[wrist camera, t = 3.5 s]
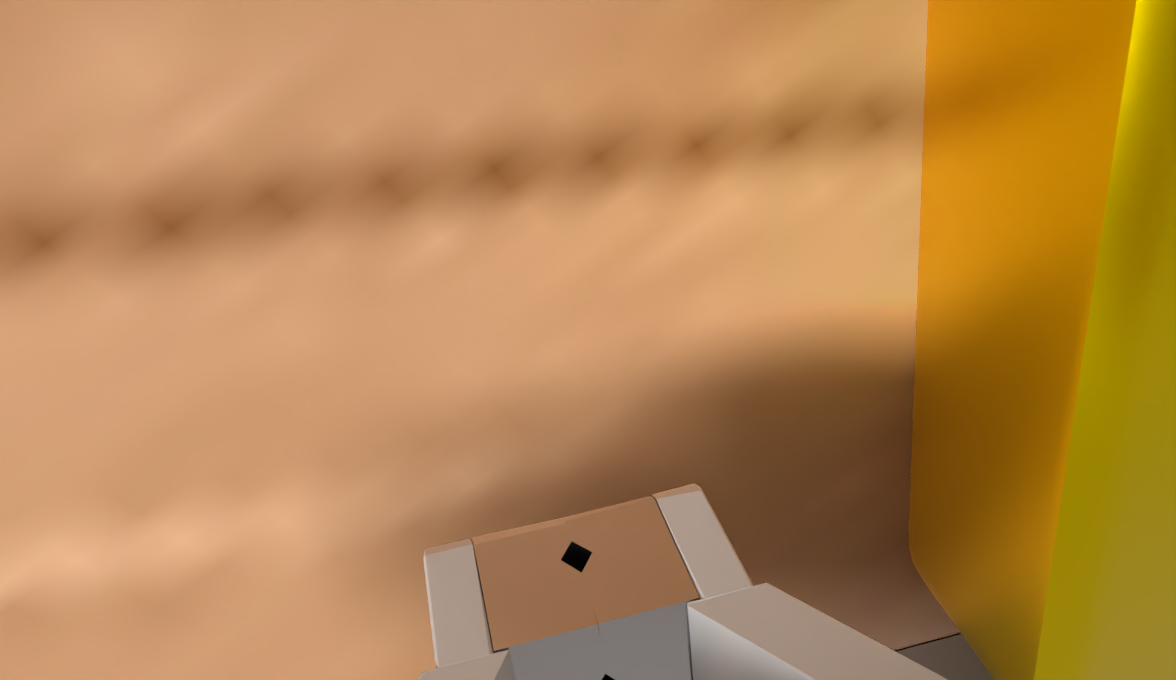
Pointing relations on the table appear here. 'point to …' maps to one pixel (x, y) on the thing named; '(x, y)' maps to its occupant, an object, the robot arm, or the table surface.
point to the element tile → (1049, 335)
